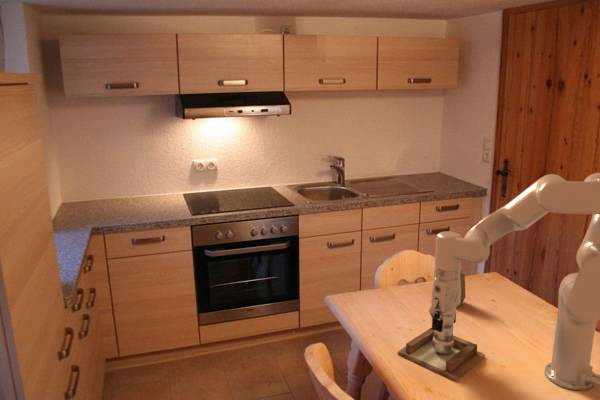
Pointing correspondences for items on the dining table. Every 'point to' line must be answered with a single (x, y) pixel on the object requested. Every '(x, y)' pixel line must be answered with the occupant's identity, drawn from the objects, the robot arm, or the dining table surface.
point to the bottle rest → (442, 355)
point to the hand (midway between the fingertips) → (443, 325)
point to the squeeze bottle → (462, 287)
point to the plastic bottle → (445, 333)
